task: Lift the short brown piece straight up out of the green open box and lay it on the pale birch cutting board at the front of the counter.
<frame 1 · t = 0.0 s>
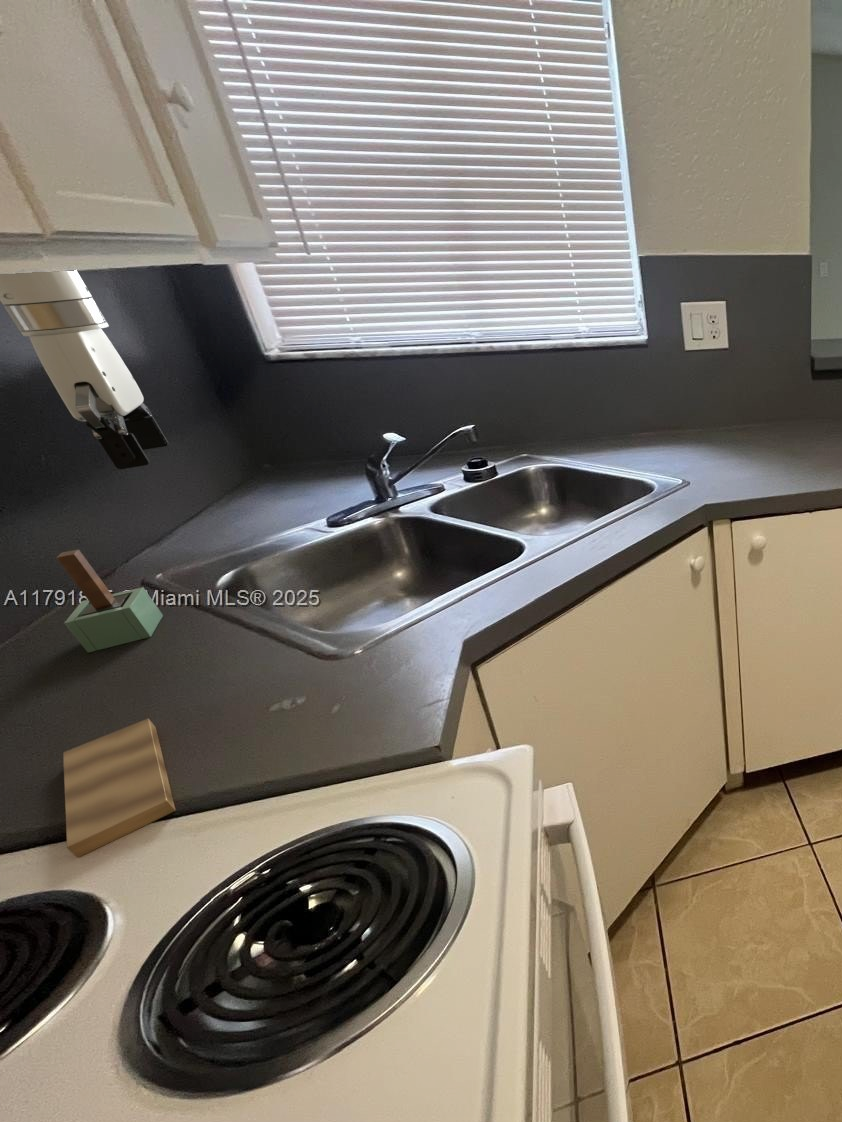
hand: (145, 456, 84), 23 cm above the worktop, tool pointing down, fingers open, 9 cm apart
can opener: (110, 609, 97), on the worktop
brown piece: (98, 595, 87), in the green open box
board: (121, 785, 65), on the worktop
green open box: (127, 633, 90), on the worktop
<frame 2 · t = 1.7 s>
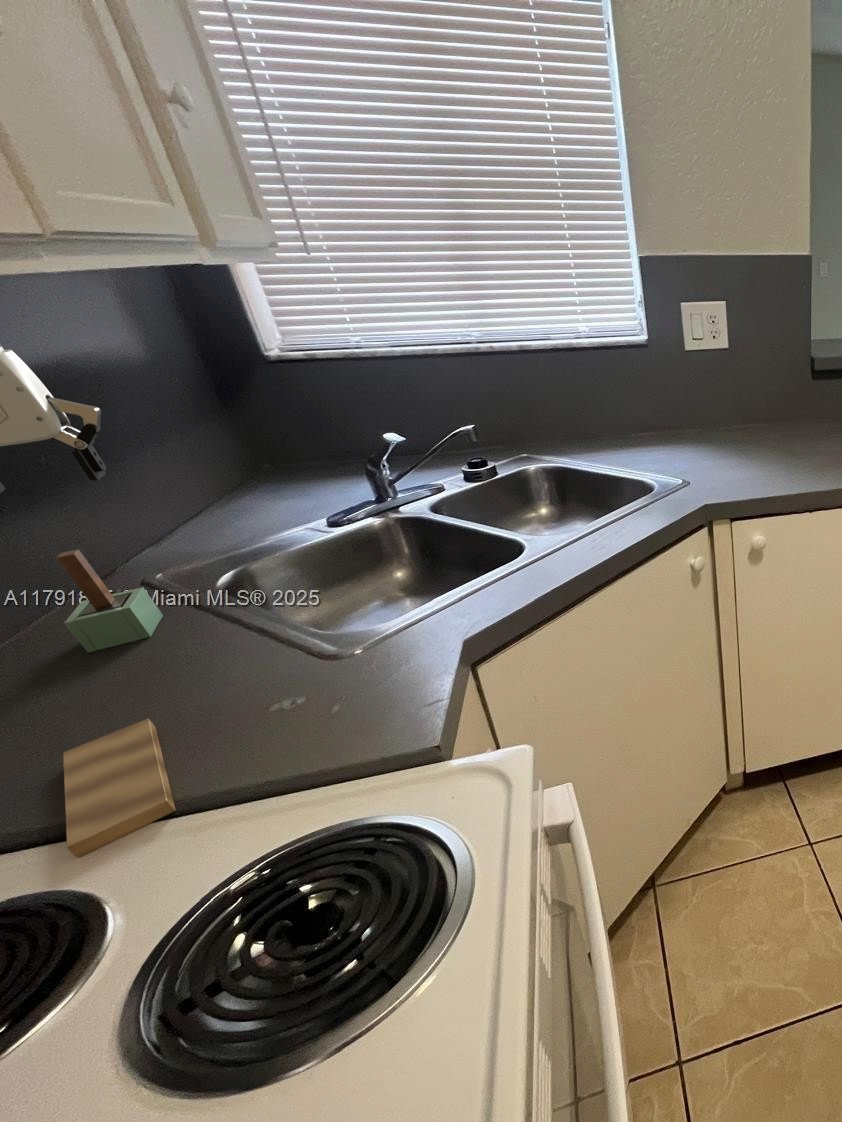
hand: (49, 485, 80), 22 cm above the worktop, tool pointing down, fingers open, 9 cm apart
nothing on the worktop moved.
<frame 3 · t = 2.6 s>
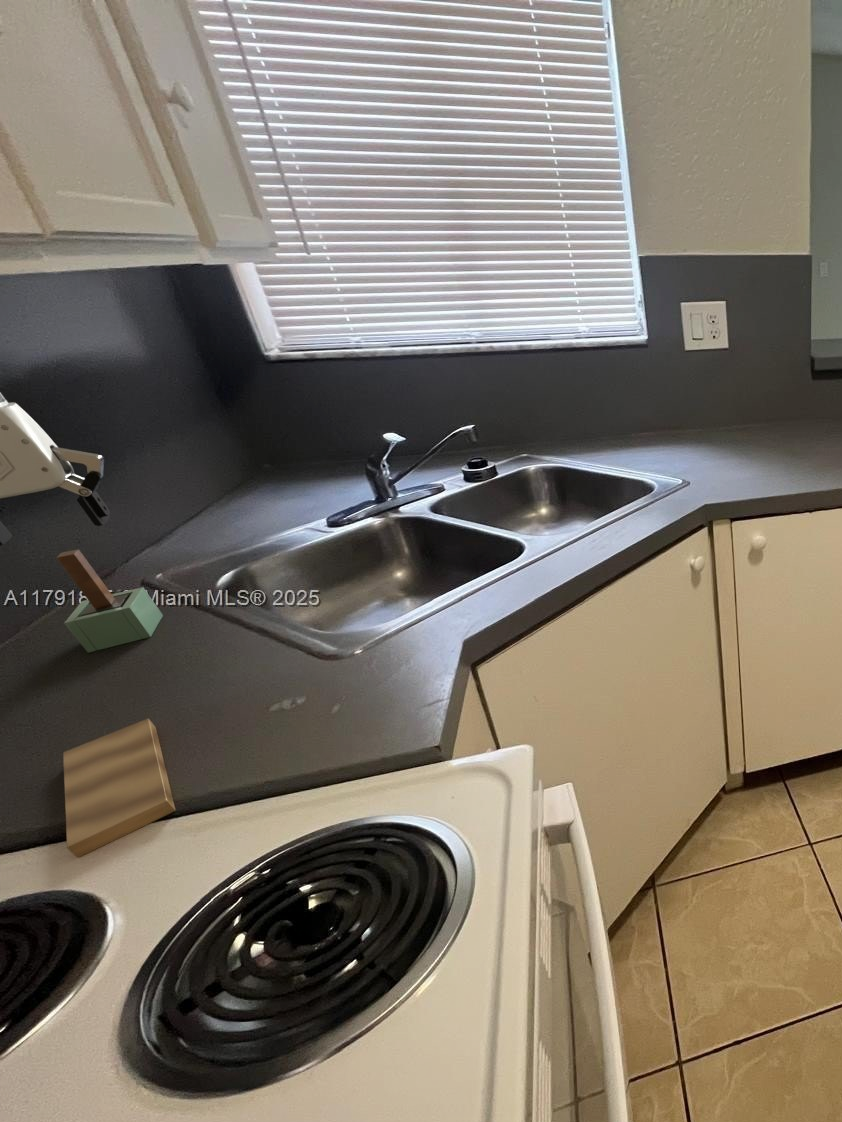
hand: (55, 532, 82), 16 cm above the worktop, tool pointing down, fingers open, 9 cm apart
nothing on the worktop moved.
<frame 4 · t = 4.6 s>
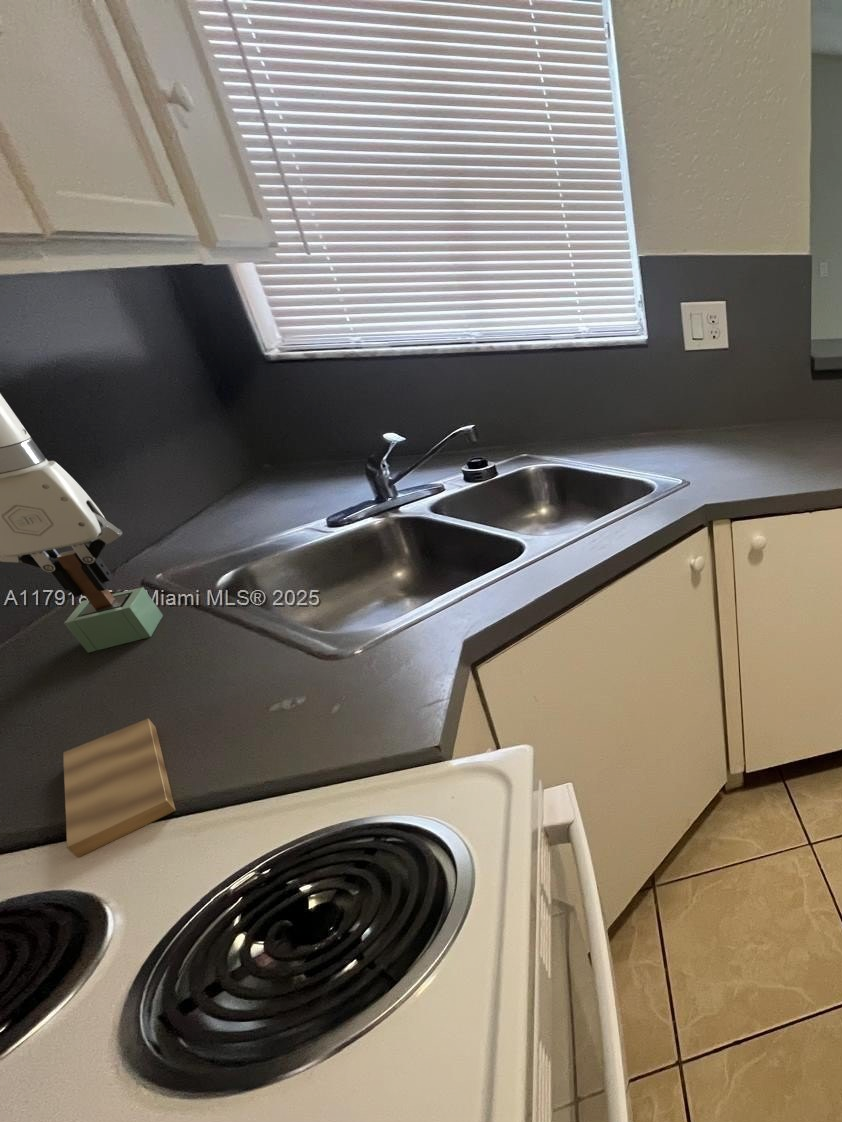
hand: (93, 588, 86), 8 cm above the worktop, tool pointing down, fingers closed on brown piece
brown piece: (98, 595, 87), in the green open box, touching gripper
everything else where it was.
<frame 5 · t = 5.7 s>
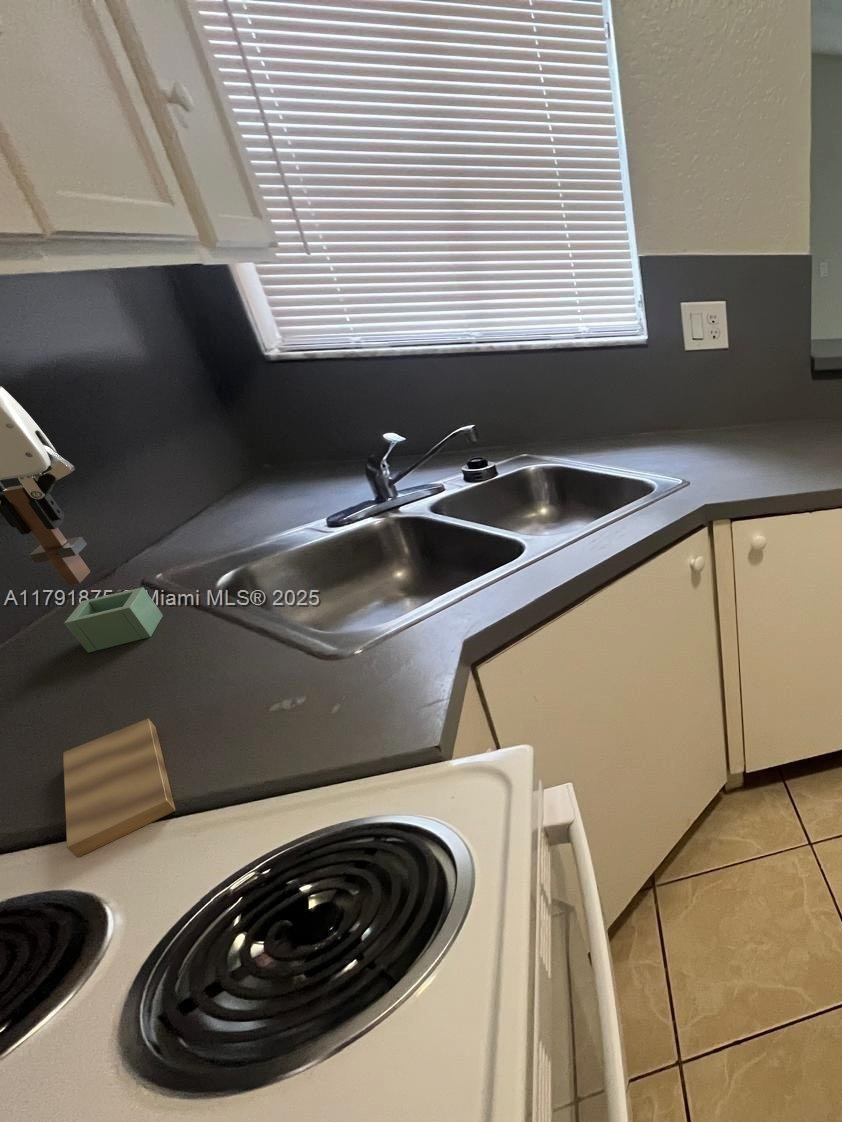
hand: (43, 527, 81), 17 cm above the worktop, tool pointing down, fingers closed on brown piece
brown piece: (48, 535, 82), point 16 cm above the worktop, touching gripper
everything else where it was.
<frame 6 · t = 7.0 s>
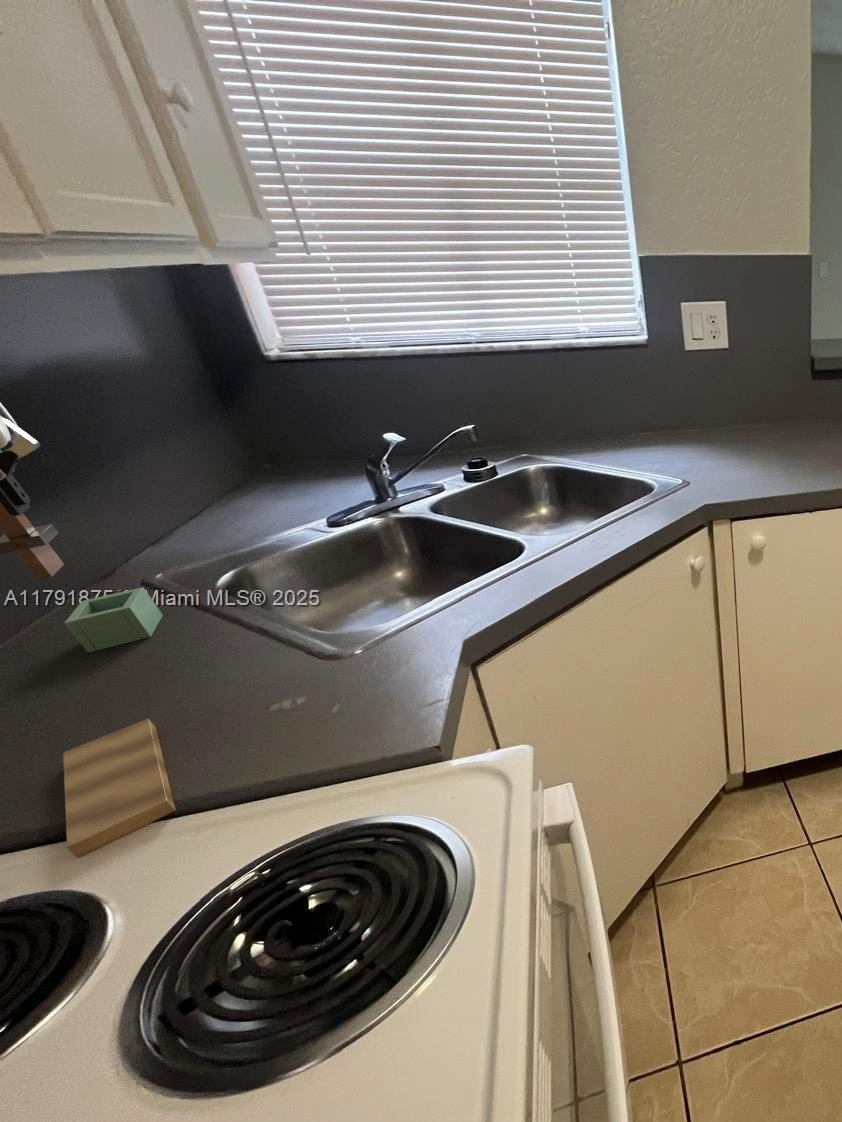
hand: (6, 513, 71), 22 cm above the worktop, tool pointing down, fingers closed on brown piece
brown piece: (12, 522, 71), point 21 cm above the worktop, touching gripper
everything else where it was.
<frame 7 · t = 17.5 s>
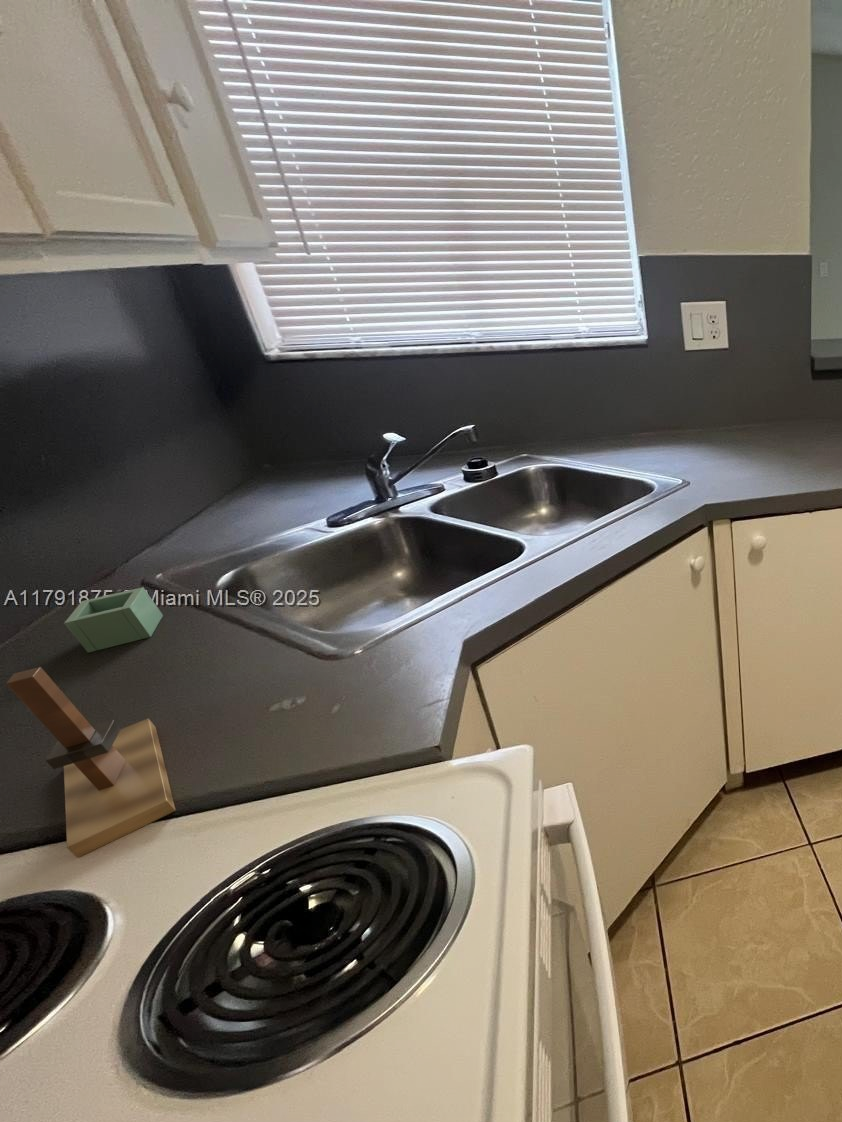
brown piece: (70, 727, 60), on the board, point 8 cm above the worktop
everything else where it was.
at the end: brown piece inside the target area on the board (0.1 cm from its centre), point 8.0 cm above the board's base; the gripper is holding nothing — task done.
